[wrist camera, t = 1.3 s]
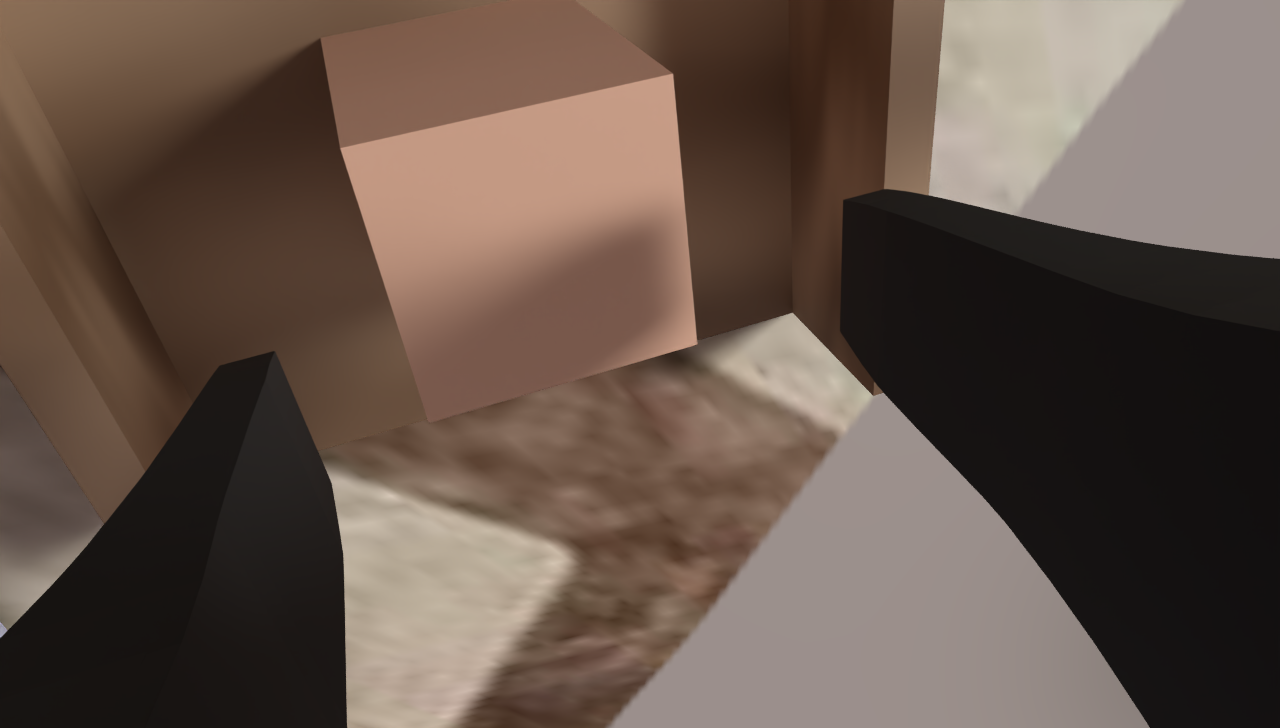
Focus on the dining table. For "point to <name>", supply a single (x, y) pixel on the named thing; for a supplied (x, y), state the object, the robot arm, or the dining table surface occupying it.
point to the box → (329, 212)
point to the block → (516, 195)
